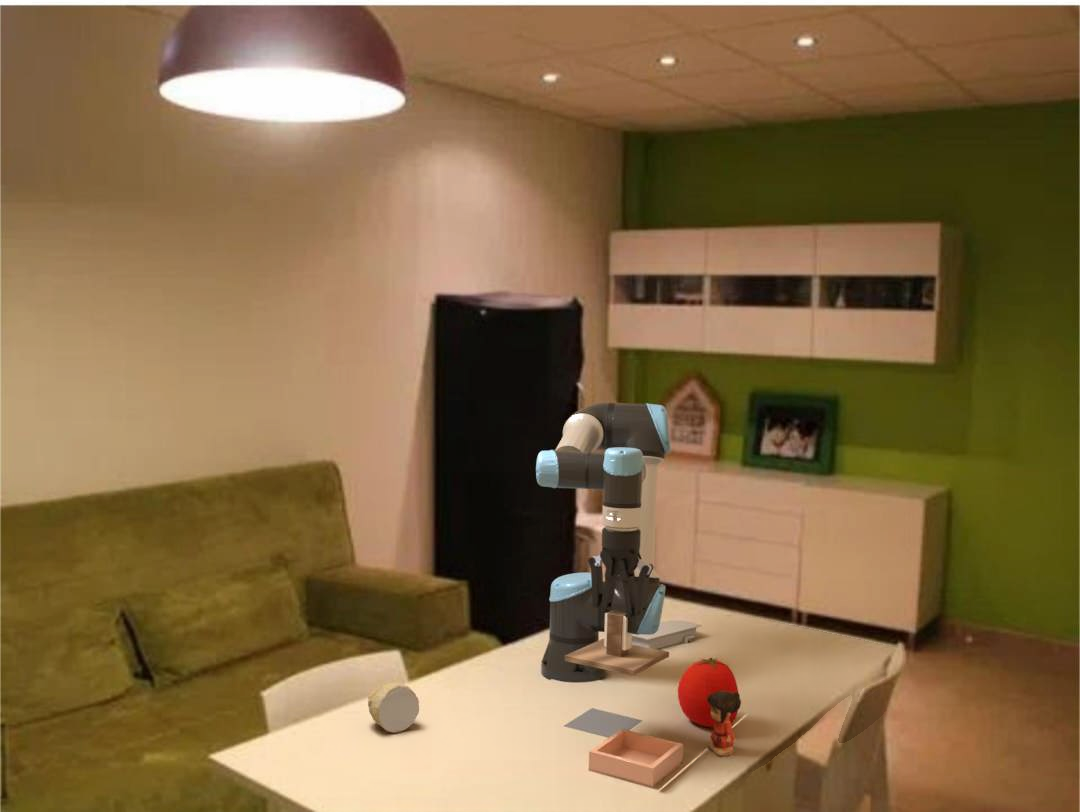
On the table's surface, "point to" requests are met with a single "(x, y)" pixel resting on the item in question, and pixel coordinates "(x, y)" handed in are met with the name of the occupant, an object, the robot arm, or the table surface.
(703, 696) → the tomato
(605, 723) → the mat
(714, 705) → the figurine
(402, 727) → the cream grey rounded piece
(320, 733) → the table surface
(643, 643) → the book
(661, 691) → the table surface
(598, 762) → the dish
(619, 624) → the lid
